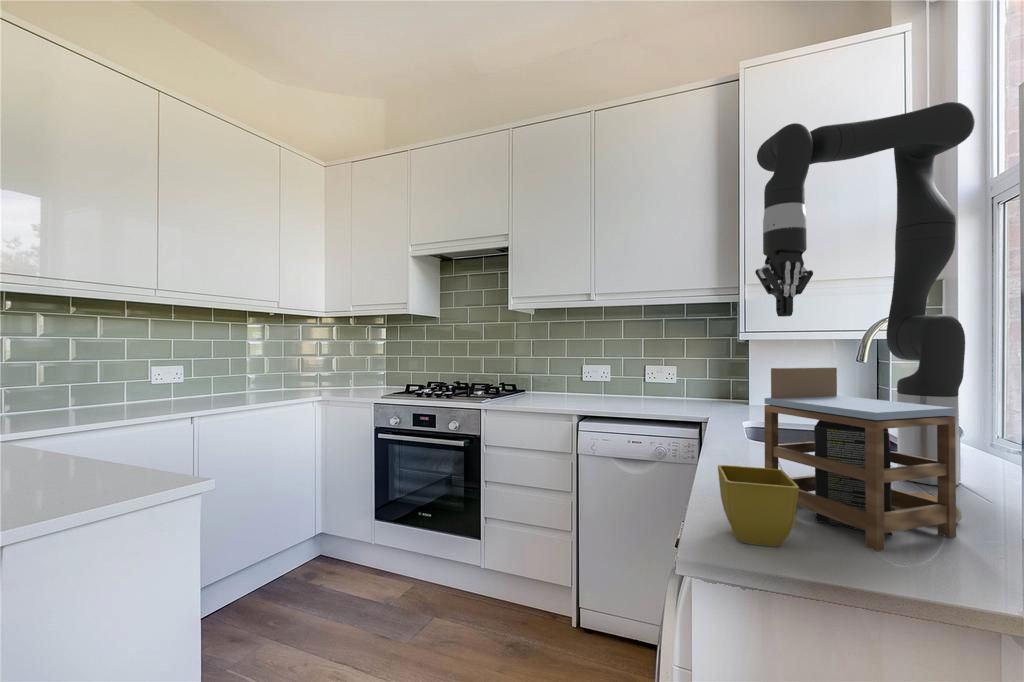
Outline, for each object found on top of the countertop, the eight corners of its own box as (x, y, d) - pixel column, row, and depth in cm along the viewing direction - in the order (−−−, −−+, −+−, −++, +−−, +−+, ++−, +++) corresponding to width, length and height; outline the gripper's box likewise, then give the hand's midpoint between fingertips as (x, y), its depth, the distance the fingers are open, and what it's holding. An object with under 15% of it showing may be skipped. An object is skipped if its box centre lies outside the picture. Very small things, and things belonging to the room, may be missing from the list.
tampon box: (893, 538, 64) (892, 432, 64) (813, 522, 70) (813, 425, 70) (889, 515, 73) (888, 422, 73) (819, 502, 78) (818, 416, 79)
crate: (834, 497, 82) (833, 401, 82) (956, 536, 65) (955, 416, 65) (764, 506, 77) (764, 405, 78) (876, 551, 60) (876, 421, 61)
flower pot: (800, 557, 59) (800, 486, 59) (726, 548, 61) (725, 480, 61) (782, 530, 67) (781, 469, 67) (717, 523, 70) (717, 464, 70)
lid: (833, 400, 82) (833, 367, 82) (955, 415, 65) (955, 372, 65) (764, 403, 78) (764, 368, 78) (876, 420, 61) (875, 374, 61)
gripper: (774, 222, 87) (774, 314, 87) (826, 228, 91) (827, 315, 91) (743, 232, 94) (743, 316, 94) (793, 236, 98) (793, 318, 98)
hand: (784, 316), depth 92 cm, fingers closed
